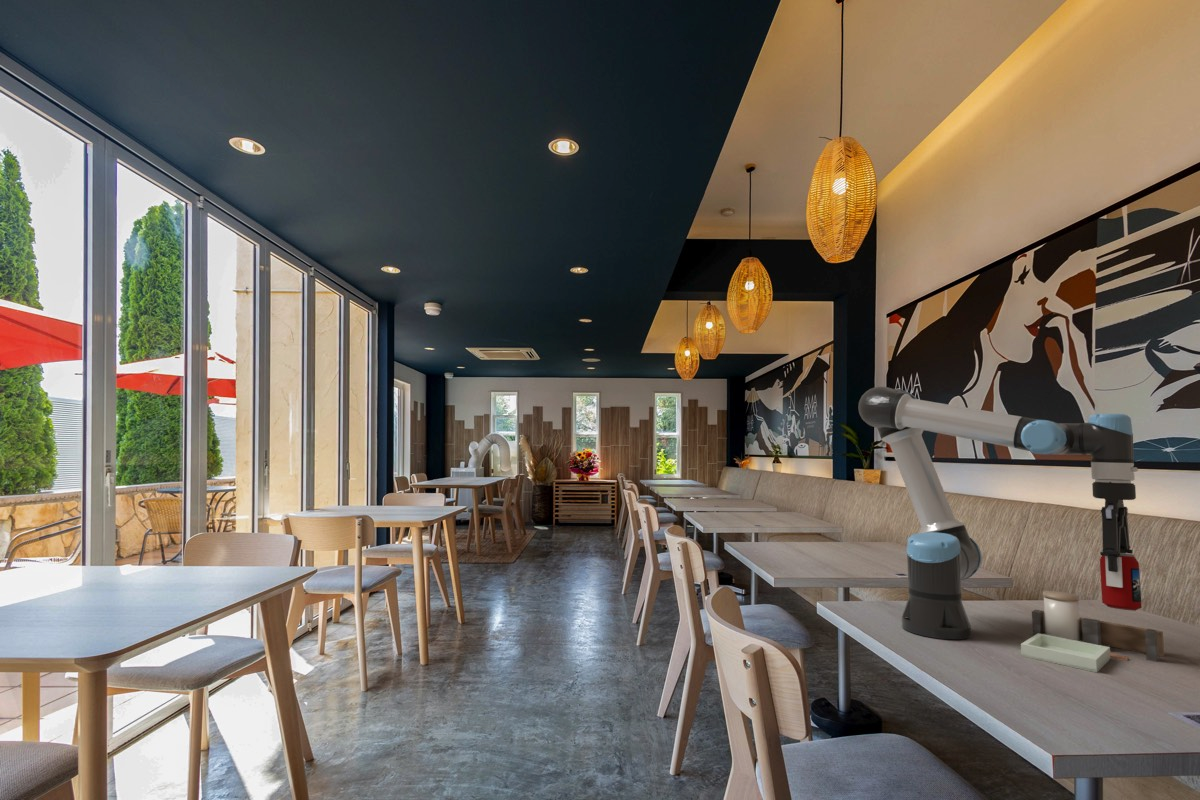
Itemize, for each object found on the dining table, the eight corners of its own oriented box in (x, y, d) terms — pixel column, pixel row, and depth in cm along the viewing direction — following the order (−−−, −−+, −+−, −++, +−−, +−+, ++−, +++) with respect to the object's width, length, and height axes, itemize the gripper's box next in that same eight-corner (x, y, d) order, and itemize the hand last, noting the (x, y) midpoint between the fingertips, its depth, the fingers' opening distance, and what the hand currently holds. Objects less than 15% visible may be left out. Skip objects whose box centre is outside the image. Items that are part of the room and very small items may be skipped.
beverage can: (1148, 612, 132) (1144, 555, 134) (1110, 608, 134) (1107, 553, 136) (1132, 608, 138) (1129, 553, 140) (1096, 604, 140) (1093, 551, 142)
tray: (1021, 655, 133) (1020, 644, 133) (1038, 644, 142) (1038, 633, 142) (1096, 672, 123) (1096, 659, 124) (1110, 659, 132) (1109, 647, 132)
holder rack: (1025, 639, 145) (1024, 613, 145) (1040, 630, 153) (1038, 606, 153) (1155, 666, 128) (1153, 636, 128) (1164, 654, 135) (1162, 626, 136)
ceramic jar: (1041, 640, 144) (1039, 593, 145) (1049, 635, 149) (1047, 589, 150) (1077, 647, 139) (1074, 598, 140) (1084, 642, 144) (1081, 594, 145)
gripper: (1126, 483, 130) (1131, 593, 128) (1142, 481, 143) (1148, 581, 141) (1081, 481, 136) (1086, 586, 134) (1102, 479, 149) (1106, 576, 147)
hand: (1118, 584), depth 137 cm, fingers closed on beverage can, 7 cm apart
